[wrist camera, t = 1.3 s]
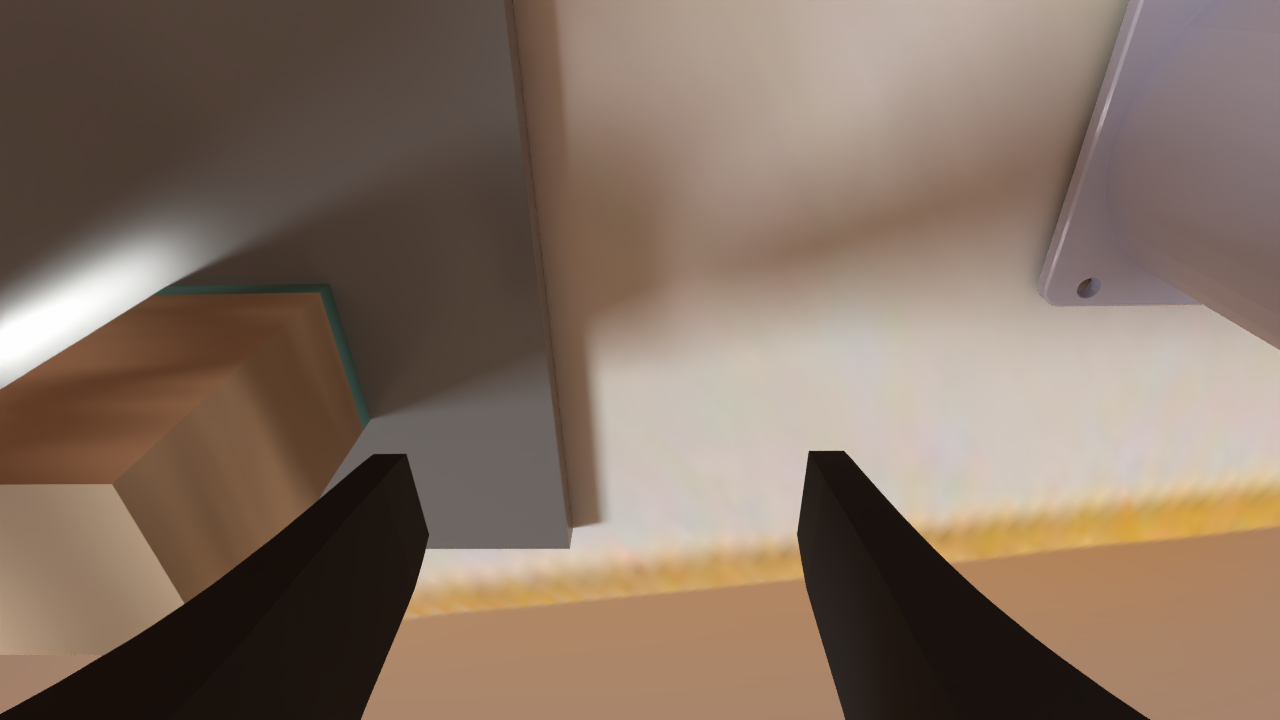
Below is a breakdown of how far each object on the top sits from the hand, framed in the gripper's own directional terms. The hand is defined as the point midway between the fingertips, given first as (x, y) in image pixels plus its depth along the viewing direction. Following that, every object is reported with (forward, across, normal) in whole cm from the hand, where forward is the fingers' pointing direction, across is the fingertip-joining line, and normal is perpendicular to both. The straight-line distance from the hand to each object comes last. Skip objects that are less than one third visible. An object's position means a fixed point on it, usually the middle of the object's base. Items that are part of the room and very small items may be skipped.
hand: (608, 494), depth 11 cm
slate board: (+6, +11, -1) cm, 12 cm away
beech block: (+5, +9, 0) cm, 10 cm away
